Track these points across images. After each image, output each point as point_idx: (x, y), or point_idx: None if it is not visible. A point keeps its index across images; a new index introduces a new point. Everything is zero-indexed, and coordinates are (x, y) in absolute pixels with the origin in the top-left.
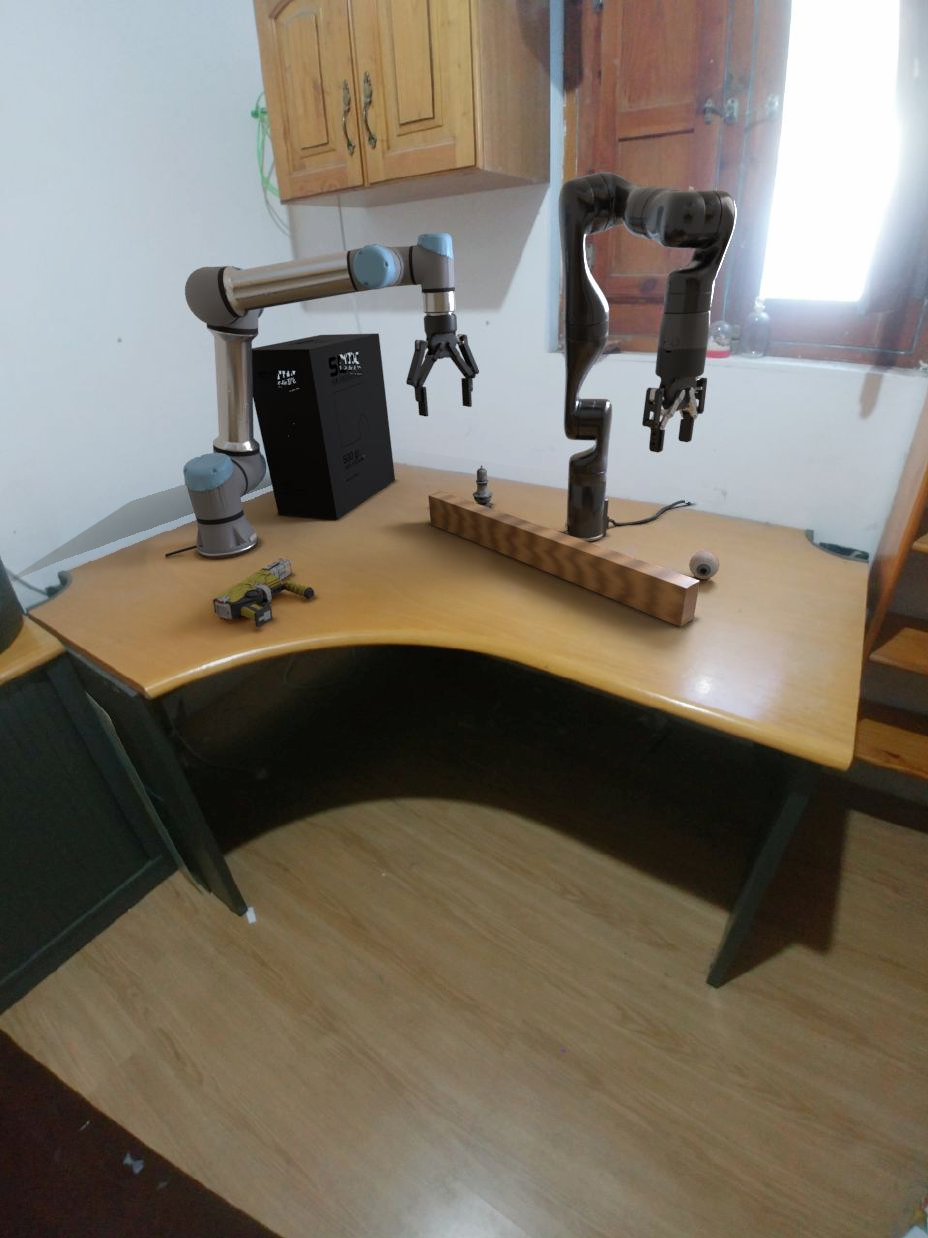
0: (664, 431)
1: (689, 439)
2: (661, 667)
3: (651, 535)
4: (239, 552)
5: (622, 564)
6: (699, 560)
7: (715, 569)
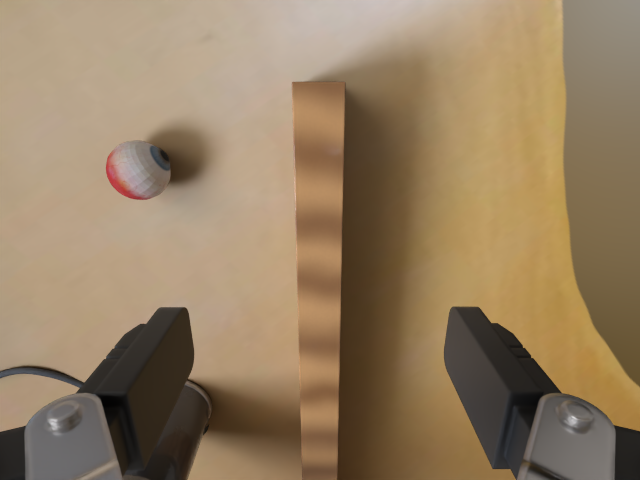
0: (511, 381)
1: (180, 310)
2: (478, 28)
3: (82, 331)
4: None
5: (339, 243)
6: (155, 173)
7: (139, 141)
